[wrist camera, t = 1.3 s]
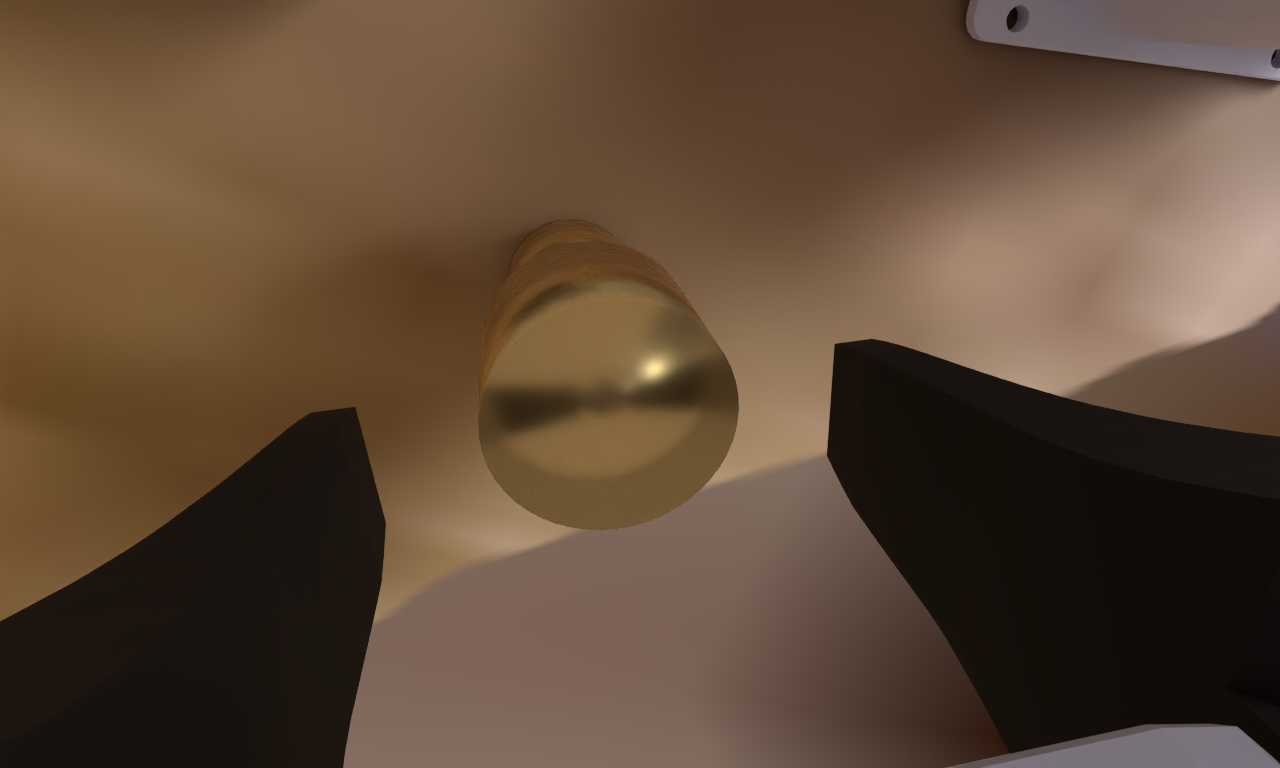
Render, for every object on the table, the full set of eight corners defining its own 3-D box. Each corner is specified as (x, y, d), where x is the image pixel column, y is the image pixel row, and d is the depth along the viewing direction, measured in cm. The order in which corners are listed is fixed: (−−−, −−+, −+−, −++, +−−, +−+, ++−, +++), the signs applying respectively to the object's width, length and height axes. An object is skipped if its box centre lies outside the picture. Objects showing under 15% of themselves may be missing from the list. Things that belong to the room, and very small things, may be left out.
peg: (665, 199, 17) (759, 307, 11) (644, 360, 19) (717, 528, 13) (484, 186, 16) (481, 293, 10) (480, 355, 18) (475, 531, 12)
